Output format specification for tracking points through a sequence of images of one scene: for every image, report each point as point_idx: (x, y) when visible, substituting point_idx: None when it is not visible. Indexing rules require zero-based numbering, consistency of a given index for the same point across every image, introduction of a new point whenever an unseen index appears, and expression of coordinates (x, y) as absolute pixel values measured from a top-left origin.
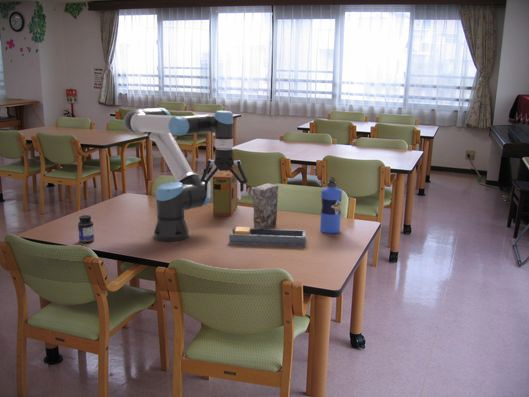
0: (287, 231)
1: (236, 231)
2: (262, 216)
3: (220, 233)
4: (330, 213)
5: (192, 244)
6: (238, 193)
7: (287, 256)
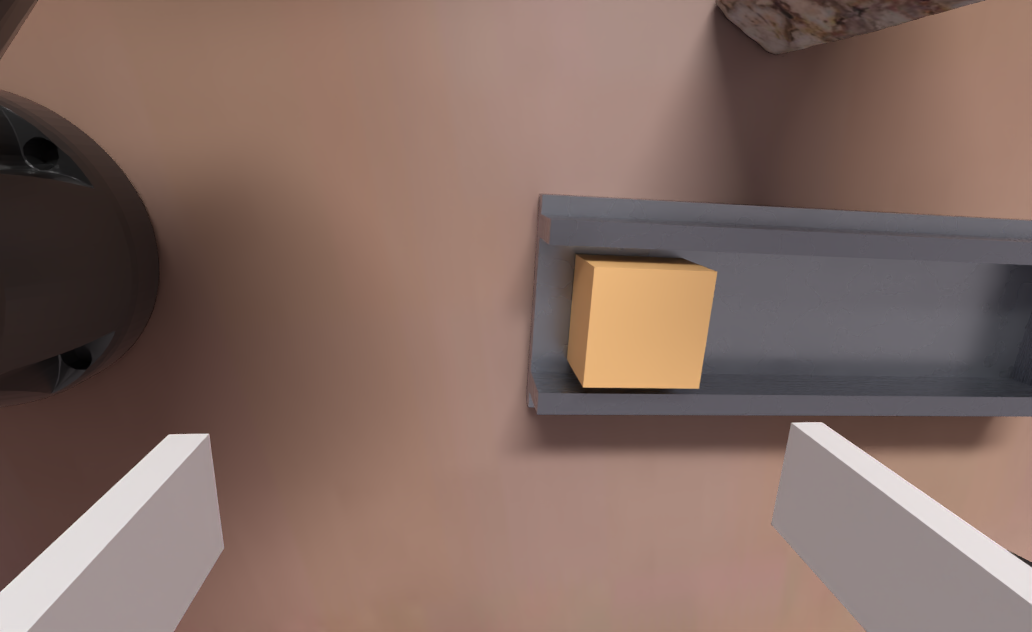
0: (990, 262)
1: (596, 385)
2: (883, 28)
3: (422, 139)
4: None
5: (258, 427)
6: (849, 611)
7: None
